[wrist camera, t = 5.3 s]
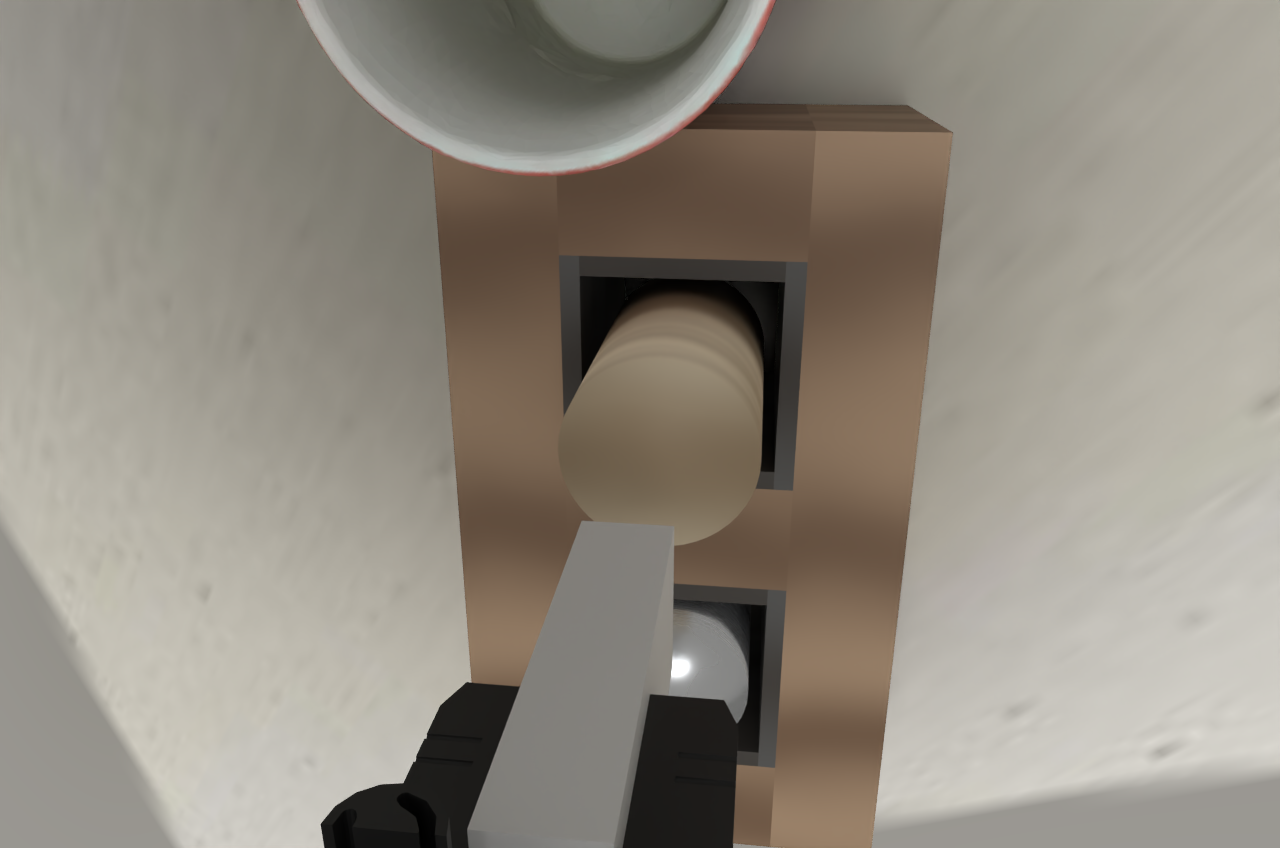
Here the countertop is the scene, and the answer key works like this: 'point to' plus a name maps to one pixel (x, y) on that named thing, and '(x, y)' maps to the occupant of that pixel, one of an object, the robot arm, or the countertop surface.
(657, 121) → the mug
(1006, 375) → the countertop surface
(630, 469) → the beech peg
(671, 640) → the robot arm
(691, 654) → the steel peg
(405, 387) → the countertop surface
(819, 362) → the socket block
